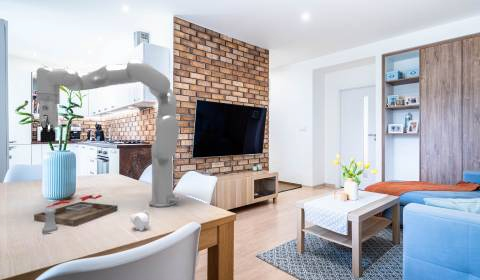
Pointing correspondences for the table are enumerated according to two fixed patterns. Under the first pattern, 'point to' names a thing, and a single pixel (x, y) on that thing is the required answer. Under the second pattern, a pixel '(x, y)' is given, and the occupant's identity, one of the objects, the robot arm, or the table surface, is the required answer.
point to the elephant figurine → (140, 220)
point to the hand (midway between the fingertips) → (48, 141)
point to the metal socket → (79, 209)
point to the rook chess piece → (49, 221)
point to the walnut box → (75, 220)
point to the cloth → (84, 198)
